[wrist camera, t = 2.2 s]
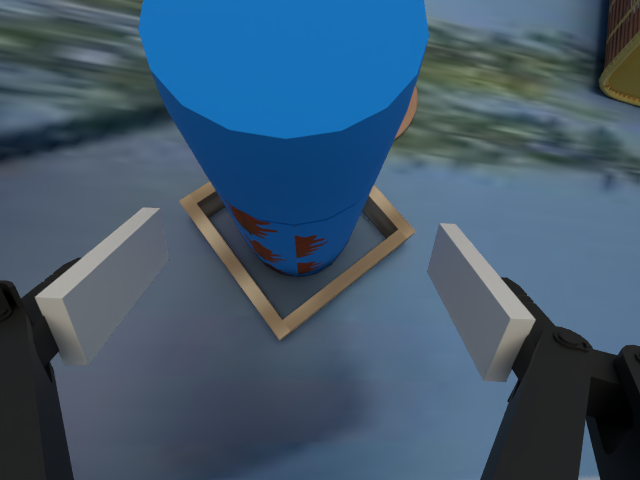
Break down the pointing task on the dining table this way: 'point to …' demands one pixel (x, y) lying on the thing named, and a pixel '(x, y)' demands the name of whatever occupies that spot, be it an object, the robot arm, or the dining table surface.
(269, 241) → the thermos
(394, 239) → the square frame
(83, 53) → the dining table surface
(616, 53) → the picnic basket
